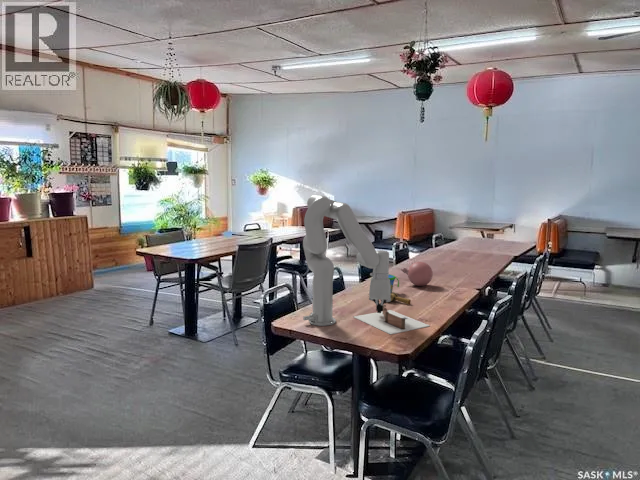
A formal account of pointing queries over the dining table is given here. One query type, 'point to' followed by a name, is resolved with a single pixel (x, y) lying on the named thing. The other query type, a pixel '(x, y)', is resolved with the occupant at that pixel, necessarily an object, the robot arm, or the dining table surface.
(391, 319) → the base
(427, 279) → the balloon
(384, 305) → the swing panel
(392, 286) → the snack cup
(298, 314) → the dining table surface
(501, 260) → the dining table surface
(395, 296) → the kendama
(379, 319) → the card
